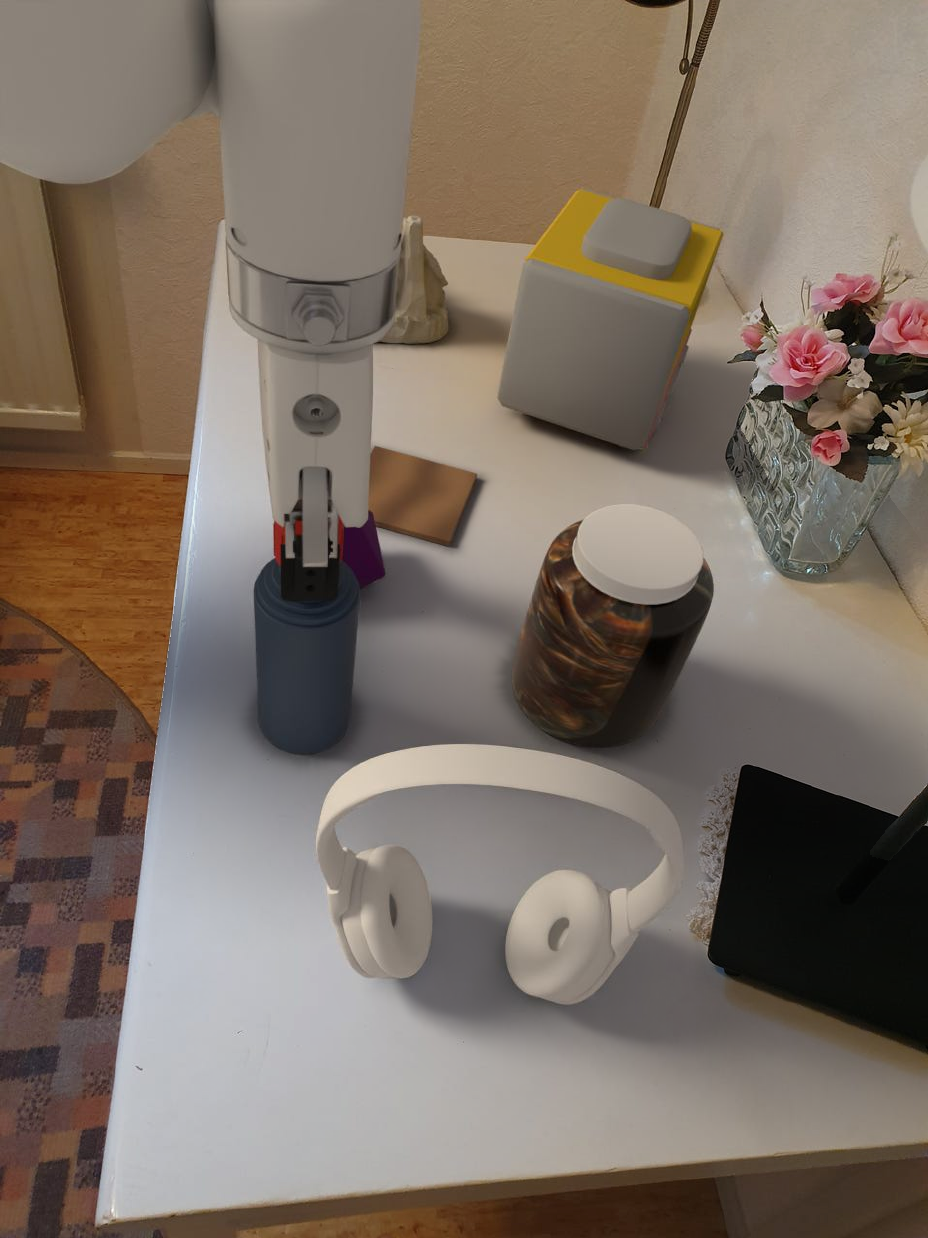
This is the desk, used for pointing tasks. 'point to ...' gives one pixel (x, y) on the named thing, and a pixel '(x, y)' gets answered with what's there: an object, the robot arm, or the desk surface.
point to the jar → (611, 625)
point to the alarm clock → (606, 317)
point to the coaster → (417, 495)
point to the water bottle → (304, 662)
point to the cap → (280, 534)
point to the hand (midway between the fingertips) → (307, 567)
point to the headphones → (547, 913)
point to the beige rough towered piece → (418, 291)
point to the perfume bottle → (363, 552)
